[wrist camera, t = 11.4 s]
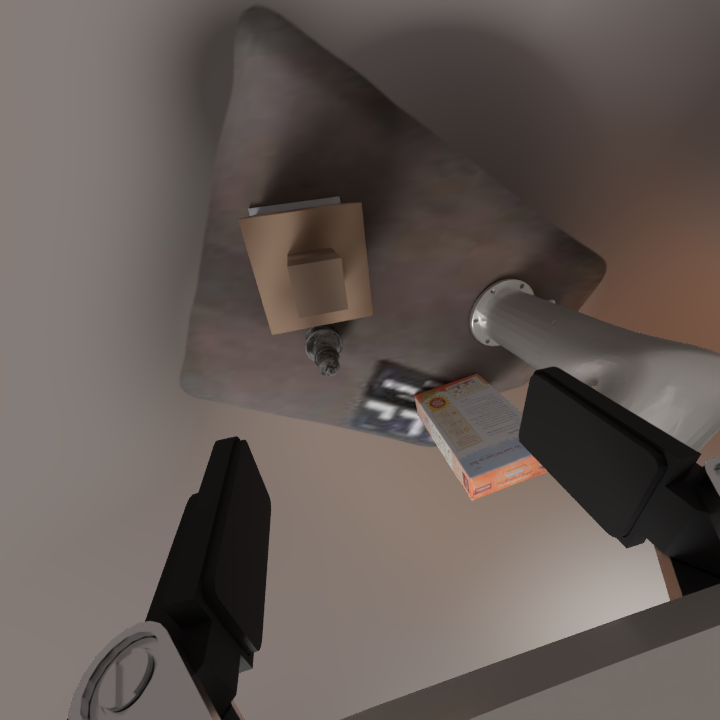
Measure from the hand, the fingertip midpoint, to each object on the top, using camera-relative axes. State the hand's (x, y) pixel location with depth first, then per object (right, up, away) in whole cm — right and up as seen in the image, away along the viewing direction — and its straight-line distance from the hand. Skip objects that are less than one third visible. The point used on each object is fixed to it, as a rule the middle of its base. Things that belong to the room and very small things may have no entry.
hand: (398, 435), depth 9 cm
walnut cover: (-9, +18, +32) cm, 37 cm away
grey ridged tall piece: (-8, +6, +39) cm, 40 cm away
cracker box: (+17, -5, +51) cm, 54 cm away
